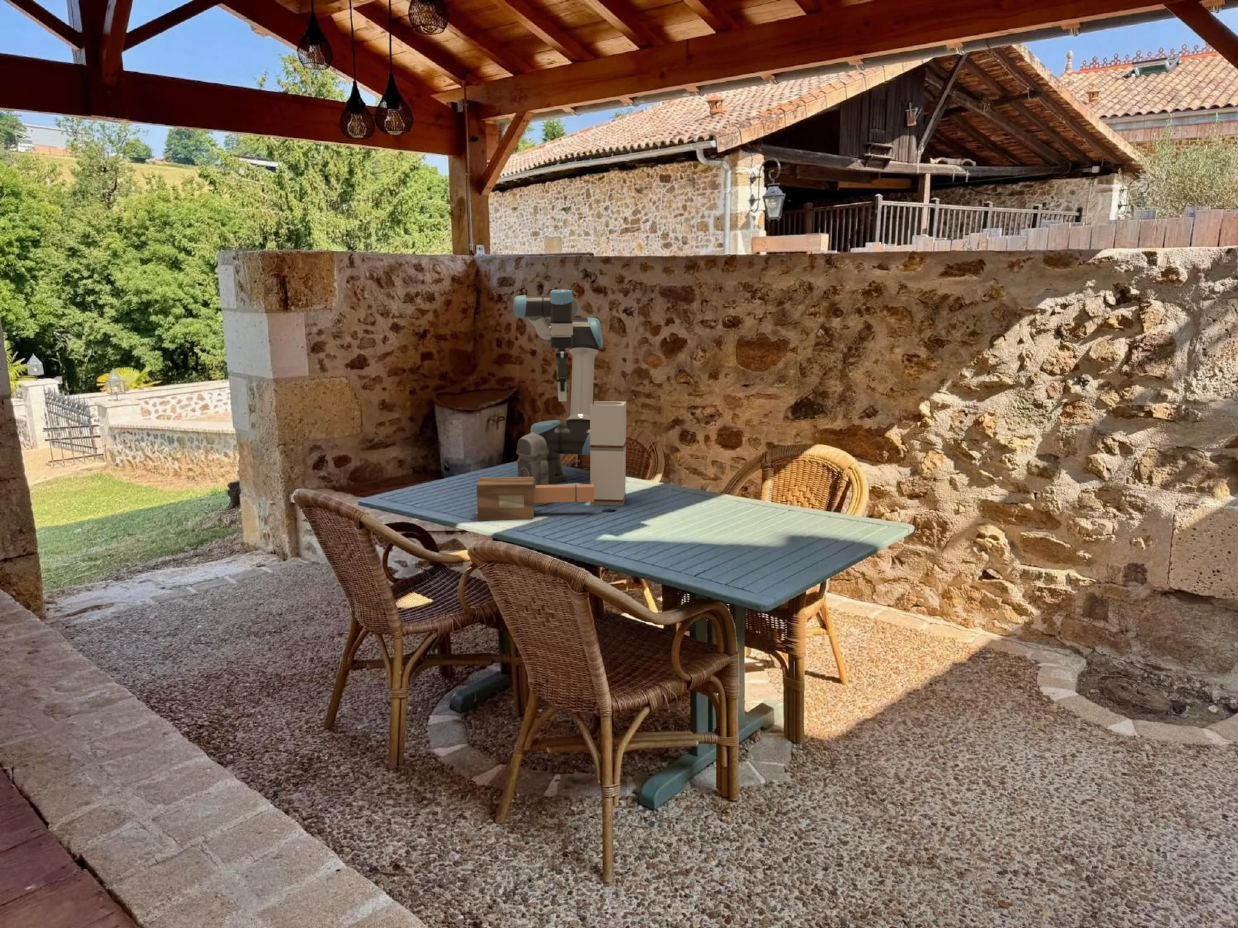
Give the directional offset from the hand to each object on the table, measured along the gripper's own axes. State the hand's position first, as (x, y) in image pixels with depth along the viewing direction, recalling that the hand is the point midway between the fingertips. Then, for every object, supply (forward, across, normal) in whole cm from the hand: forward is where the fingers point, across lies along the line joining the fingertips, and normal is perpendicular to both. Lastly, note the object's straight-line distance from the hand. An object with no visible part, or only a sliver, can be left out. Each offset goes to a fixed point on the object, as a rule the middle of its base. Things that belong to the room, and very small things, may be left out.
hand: (562, 398), depth 282 cm
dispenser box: (+37, +15, -19) cm, 44 cm away
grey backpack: (+37, -2, -10) cm, 38 cm away
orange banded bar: (+32, +15, -3) cm, 36 cm away
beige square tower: (+37, -1, +16) cm, 40 cm away
